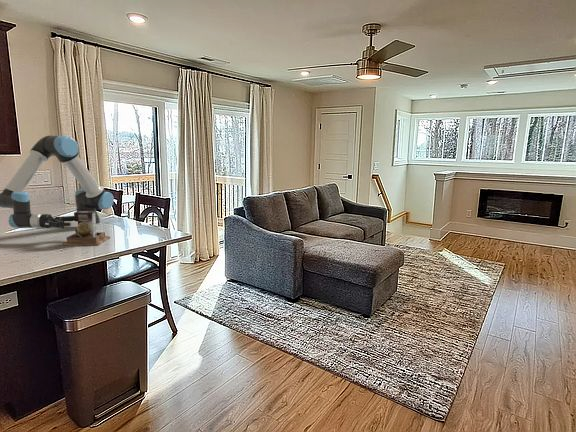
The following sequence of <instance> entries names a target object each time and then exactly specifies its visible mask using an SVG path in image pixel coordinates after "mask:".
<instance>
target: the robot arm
mask: <svg viewBox="0 0 576 432" xmlns="http://www.w3.org/2000/svg"><path fill="white" fill-rule="evenodd" d="M79 155H80V152H79V145H78V142H77V141H76V140H75V139H74V138H73V137H72V136H67V135H46V136H43V137H41V138H40V139H39V140H38V141H36V143H35V144H34V145H33V146H32V148H31V149H30V150H29V155H28V157H27V158H26V159H25V160H24V162H23V163H22V164H21V166H20V167H19V168H18V169H17V170H16V173H15V174H14V175H13V177H12V178H11V179H10V181H9V183H8V184H6V186H5V188H4V189H3V190H2V192H0V208H7V209H12V210H13V211H12V212H13V213H12V214H10V215H9V216H8V224H9V225H10V227H11V228H15V229H16V228H18V229H36V230H38V229H40V228H41V229H50V228H53V227H54V228H58V229H59V228H61V229H64V228H66V227H67V228H68V227H69V228H72V227H74V228H75V227H78V221H75V220H74V215H66V216H65V215H64V216H63V215H62V216H55V217H53V215H51V213H50V214H47V213H32V210H31V202H30V201H31V200H30V199H31V198H30V195H29V192H28V191H25V189H26V187H27V186H28V184H29V183H30V182H31V180H32V178H33V177H34V175H35V174H36V173H37V172H38V171H39V169H40V168H41V166H42V165H43V163H44V162H47V161H48V160H49V159H50V158H51V157H55V158H56V159H57V160H58V161H59V162H60V163H61V164H64V165H65V166H66V167H67V168H68V171H70V173H71V174H72V175H73V176H74V178H75V180H76V181H77V182H78V183H79V185H80V186H81V189H80V188H79V189H77V190H75V192H74V197H75V206H76V208H75V209H76V211H95V219H96V224H98V223H100V222H101V219H100V216H99V214H98V211H97V210H101V211H102V210H105V211H106V210H109V209H110V208H112V207H113V205H114V201H115V200H114V199H115V198H114V194H112V193H111V192H110V191H106V189H105V187H104V186H103V185H99V183H98V182H97V181H96V179H95V178H94V176H93V175H92V174H91V172H90V171H89V170H88V168H87V167H86V165H85V164H84V162H83V161H82V159H81V158H80V156H79Z"/></svg>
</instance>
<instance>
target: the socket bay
mask: <svg viewBox="0 0 576 432" xmlns="http://www.w3.org/2000/svg"><path fill="white" fill-rule="evenodd" d="M96 235H97V236H96V237H76V234H75V233H73V234H71V235H69V236H66V241H64V242H63V244H62V246H100V245H101V244H103V243H104V242H106V241H108V240H110V239H111V236H109V235H108V236H107V235H106V232H101V231H99V232H98V231H96Z"/></svg>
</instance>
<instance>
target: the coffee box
mask: <svg viewBox="0 0 576 432" xmlns="http://www.w3.org/2000/svg"><path fill="white" fill-rule="evenodd" d="M73 216H74V220H75V221H78V227H74V231H75V233H74V234H76V237H96V236H97V235H96V232H97V223H96V219H95V211H77V210H76V211H74V212H73Z"/></svg>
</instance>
